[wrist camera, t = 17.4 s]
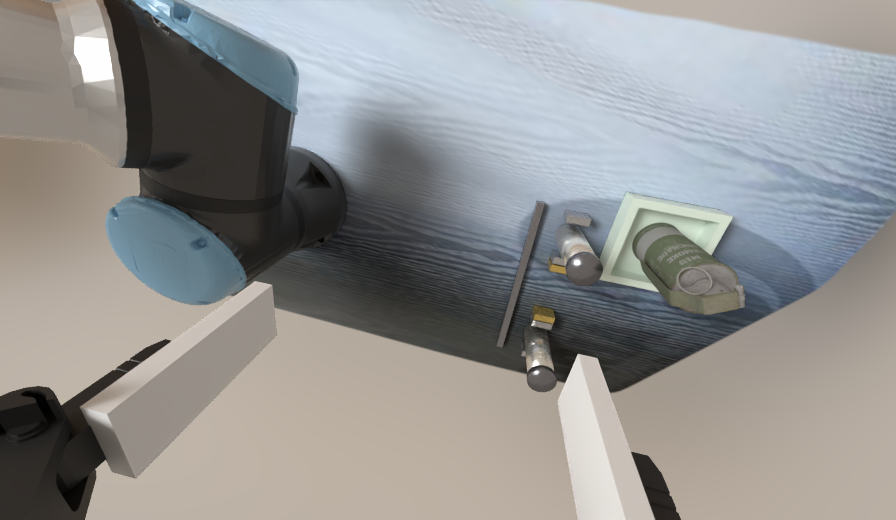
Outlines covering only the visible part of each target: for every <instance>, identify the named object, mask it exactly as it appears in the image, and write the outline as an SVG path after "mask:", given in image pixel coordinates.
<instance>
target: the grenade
mask: <svg viewBox="0 0 896 520" xmlns="http://www.w3.org/2000/svg"><path fill="white" fill-rule="evenodd" d="M632 250H633V253H634V255H635V257H636V258H637V259H639V260H640V263H641V267H642V270H643V272H644V273H645V275H646V276H647V277H648V279H649V280H650V281H651V282H652V284H653V285H654V286H655V287H656V289H657V290H658V291H659V292H660V293H661V295H662V296H663V297H664V298H665V299H666V301H667V302H668V303H669V304H670V305H672V306H677V307H679V308H681V309H682V310H684V311H687V312H691V313H702V314H704V315H710V314H715V313H720V312H725V311H731V310H736V309H739V308H743V307H744V306H745V294H744V286H742V285H739V281H738V276H737V274H736V273H735V271H734V270H733V269H732V268H730V267H729V266H727V265H725V264H723V263H721V262H719V261H718V260H717V259H715V258H714V257H713V256H711V255H710V254H709V253H707V252H706V251H705V250H703V249H702V248H701V247H699V246H698V245H697V244H695V243H694V242H693V241H691V240H690V239H689V238H687V237H686V236H685V235H683V234H682V233H681V232H679V230H678V229H677V228H676V227H675V226H673V225H671V224H668V223H662V222H660V223H653V224H650V225H648V226H646V227H644V228H643V229H641V230H640V231H639V232H638V233H637V234H636V236H635V238H634V240H633V243H632Z"/></svg>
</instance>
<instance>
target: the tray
mask: <svg viewBox="0 0 896 520" xmlns="http://www.w3.org/2000/svg"><path fill="white" fill-rule="evenodd" d="M732 218H733V216H731V215H729V214H727V213H725V212H723V211H721V210H719V209H714V208H708V207H703V206H698V205H692V204H687V203H682V202H676V201H671V200H666V199H661V198H655V197H650V196H645V195H639V194H634V193H629V192H626V193H625V196H624V198H623V201H622V203H621V206H620V208H619V211H618V213H617V216H616V218H615V221H614V223H613V226H612V228H611V231H610V233H609V235H608V238H607V240H606V243H605V245H604V248H603V250H602V253H601V255H600V258H599V260H600V262H601V263H602V266H603V273H602V276H601V277H600V280H603V281H608V282H613V283H618V284H623V285H627V286H632V287H637V288H642V289H647V290H652V291H656V292H659V291H658V290H657V289H656V287H655V286H654V285H653V284H652V282H651V281H650V280H649V279H648V277H647V276H646V275H645V273H644V272H643V270H642V267H641V263H640V260H639V259H637V258H636V257H635V255H634V253H633V250H632V243H633V240H634V238H635V236H636V234H637V233H638V232H639V231H640V230H641V229H643V228H644V227H646V226H648V225H650V224H653V223H660V222H662V223H668V224H671V225H673V226H675V227H676V228H677V229H678V230H679V232H681V233H682V234H683V235H685V236H686V237H687V238H689V239H690V240H691V241H693V242H694V243H695V244H697V245H698V246H699V247H701V248H702V249H703V250H705V251H706V252H707V253H709V254H710V255H712V253H713V251H714V250H715V248H716V246H717V244H718V243H719V241H720V239H721V237H722V235H723V234H724V232H725V230H726V228H727V227H728V225H729V223H730V221H731V220H732Z"/></svg>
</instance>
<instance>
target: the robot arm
mask: <svg viewBox="0 0 896 520" xmlns="http://www.w3.org/2000/svg"><path fill="white" fill-rule="evenodd" d="M298 81H299V74H298V70H297V67H296V65H295V63H294V62H293V60H292V59H291V58H290V57H289V56H288V55H287V54H286V53H285V52H283V51H282V50H280V49H278V48H277V47H275V46H273V45H271V44H269V43H267V42H266V41H264V40H262V39H260V38H258V37H256V36H254V35H252V34H250V33H248V32H246V31H245V30H243V29H241V28H239V27H237V26H235V25H233V24H231V23H229V22H227V21H225V20H223V19H221V18H219V17H217V16H215V15H213V14H211V13H209V12H207V11H205V10H203V9H201V8H199V7H197V6H194V5H192V4H190V3H188V2H186V1H184V0H62V1H60V2H58V3H55V2H46V1H42V0H0V137H2V138H14V139H26V140H38V141H50V142H62V143H75V144H78V145H80V146H83V147H85V148H87V149H89V150H90V151H92V152H93V153H94V154H96V155H97V156H99V157H100V158H101V159H103V160H104V161H106V162H107V163H108V164H110V165H111V166H113V167H119V168H138V169H139V176H140V195H139V196H130V197H126V198H124V199H122V200H121V202H120V203H118V204H117V205H116V206H115V207H112V208H111V209H110V210H109V212H108V214H107V216H106V224H105V226H106V232H107V236H108V239H109V242H110V244H111V246H112V248H113V250H114V251H115V253H116V254H117V256H118V257H119V259H120V260H121V262H122V263H123V264H124V265H125V266H126V267H127V268H128V270H129V271H131V272H132V273H133V274H134V275H135V276H136V277H137V278H138V279H139V280H140V281H141V282H143V283H144V284H145V285H147V286H148V287H150V288H151V289H153V290H154V291H156V292H158V293H160V294H161V295H163V296H165V297H167V298H170V299H172V300H175V301H178V302H181V303H185V304H190V305H208V304H211V303H215V302H218V301H220V300H222V299H223V298H225V297H227V296H229V295H230V294H232V293H234V292H238V291H240V290H241V289H243V288H244V287H245V285H246V284H247V283H249V282H250V281H251V280H253V279H254V278H255V277H257V276H258V275H260V274H261V273H263V272H264V271H265V270H267V269H268V268H270V267H271V266H272V265H274V264H275V263H277V262H278V261H280V260H281V259H282V258H284V257H285V256H287V255H288V254H289V253H291V252H293V251H299V250H306V249H311V248H315V247H318V246H320V245H322V244H324V243H326V242H327V241H328V240H330V239H331V238H332V237H334V236H335V235H336V234H337V233H338V232H339V230H340V229H341V227H342V225H343V223H344V220H345V216H346V197H345V193H344V190H343V187H342V185H341V182H340V180H339V179H338V177H337V175H336V174H335V172H334V171H333V170H332V168H331V167H330V166H329V165H328V164H327V163H326V162H325V161H324V160H323V159H321V158H320V157H319V156H317V155H316V154H314V153H312V152H310V151H308V150H306V149H303V148H299V147H294V146H291V141H292V134H293V128H294V121H295V115H297V114H298V109H297V107H296V102H297V92H298ZM276 335H277V331H276V322H275V311H274V300H273V290H272V285H270V284H265V283H261V282H256V281H255V282H254V283H252V284H251V285H250V286H248V287H247V288H245V289H244V290H243V291H241V292H240V293H238V294H237V295H236V296H234V297H233V298H231V299H230V300H229V301H227V302H226V303H224V304H223V305H222V306H220V307H219V308H217V309H216V310H215V311H213V312H212V313H210V314H209V315H208V316H206V317H205V318H203V319H202V320H201V321H199V322H198V323H196V324H195V325H194V326H192V327H191V328H190V329H188V330H187V331H185V332H184V333H183V334H181V335H180V336H178V337H177V338H175V339H174V340H173V341H170V340H166V339H165V340H163V341H160V342H158V343H156V344H153V345H151V346H149V347H146V348H145V349H143V350H142V351H140V352H139V353H138V354H136V355H135V356H133V357H132V358H130V360H129V361H126V362H124V363H123V364H121V365H120V366H118V367H117V368H116V370H115V371H114V370H113V371H111V372H110V373H108V374H107V375H105V376H104V377H102V378H101V379H99V380H98V381H96V382H95V383H93V384H92V385H91V386H89V387H88V388H86V389H85V390H83V391H82V392H80V393H79V394H77V395H76V396H75V397H73V398H72V399H70V400H69V401H67V402H66V403H64V404H63V405H60V403H59V401H58V399H57V397H56V395H55V393H54V392H53V391H52V390H51V389H50V388H47V387H40V386H37V387H28V388H23V389H20V390H16V391H12V392H9V393H7V394H5V395H2V396H0V520H85V517H86V513H87V509H88V506H89V502H90V499H91V495H92V492H93V488H94V484H95V481H96V470H95V469H96V468H97V467H98V466H99V465H100V464H101V463H102V462H104V461H105V460H106V461H107V463H108V465H109V467H110V469H111V471H112V472H114V473H118V474H121V475H125V476H128V477H132V478H137V477H138V476H139V475H140V474H141V473H142V472H143V471H144V470H145V469H146V468H147V467H148V466H149V465H150V464H151V463H152V462H153V461H154V460H155V458H157V457H158V456H159V455H160V454H161V453H162V452H163V450H164V449H165V448H166V447H167V446H168V445H169V444H170V443H171V442H172V441H173V440H174V439H175V438H176V437H177V436H178V435H179V434H180V433H181V432H182V431H183V430H184V429H185V428H186V427H187V426H188V425H189V424H190V423H191V422H192V421H193V420H194V419H195V418H196V417H197V416H198V415H199V414H200V413H201V412H202V411H203V410H204V409H205V408H206V407H207V406H208V405H209V404H210V403H211V401H213V399H215V398H216V396H218V394H219V393H220V392H221V391H222V390H223V389H224V388H225V387H226V386H227V385H228V384H229V383H230V382H231V381H232V380H233V379H234V378H235V377H236V376H237V375H238V374H239V373H240V372H241V371H242V370H243V369H244V368H245V367H246V366H247V365H248V364H249V363H250V362H251V361H252V360H253V359H254V358H255V357H256V356H257V355H258V354H259V353H260V351H262V350H263V349H264V348H265V347H266V346H267V345H268V344H269V343H270V342H271V341H272V339H274V338H275V336H276ZM558 407H559V413H560V418H561V424H562V430H563V436H564V441H565V448H566V453H567V459H568V464H569V470H570V476H571V482H572V488H573V493H574V499H575V505H576V511H577V517H578V520H681V518H680V516H679V514H678V513H677V512H676V507H675V504H674V502H673V499H672V497H671V496H670V495H669V493H670V492H669V490H668V488H667V485H666V483H665V480H664V478H663V476H662V474H661V472H660V471H659V470H658V468H657V467H656V466H655V464H654V463H653V462H652V460H651V459H650V458H649V456H647V455H642V454H638V453H634V452H631V451H630V449H629V446H628V443H627V440H626V437H625V434H624V432H623V429H622V426H621V423H620V420H619V418H618V415H617V412H616V409H615V406H614V404H613V401H612V398H611V396H610V392H609V390H608V387H607V384H606V381H605V379H604V376H603V373H602V370H601V367H600V365H599V362H598V359H597V358H594V357H590V356H585V355H581V354H578V355H577V357H576V360H575V362H574V364H573V367H572V369H571V371H570V374H569V376H568V378H567V381H566V383H565V385H564V387H563V390H562V392H561V395H560V397H559V399H558Z"/></svg>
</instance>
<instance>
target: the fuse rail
mask: <svg viewBox="0 0 896 520" xmlns="http://www.w3.org/2000/svg"><path fill="white" fill-rule="evenodd" d="M544 205H545V203H544V202H542V201H537V202H536V205H535V209H534V212H533V216H532V219H531V223H530V226H529V230H528V233H527V237H526V240H525V244H524V248H523V251H522V255H521V258H520V262H519V265H518V269H517V272H516V276H515V279H514V283H513V286H512V290H511V293H510V297H509V300H508V304H507V308H506V311H505V315H504V318H503V322H502V325H501V329H500V332H499V336H498V339H497V346H498V347H503V344H504V340H505V337H506V334H507V330H508V327H509V324H510V320H511V317H512V313H513V310H514V307H515V303H516V300H517V297H518V293H519V290H520V286H521V283H522V280H523V276H524V273H525V270H526V266H527V263H528V259H529V256H530V253H531V249H532V246H533V242H534V239H535V236H536V232H537V229H538V226H539V222H540V219H541V215H542V212H543V209H544ZM563 218H564V220H565V221H566V222H567V224H563V225H561V226H560V227H559V228H558V229H557V230H556V232H555V240H556V243H557V246H558V249H559V251H556V250H552V251H551V254H550V257H549V260H548V266H549V270H550V271H553V272H558V273H563V274H567V276H568V279H569V280H570V281H571V282H572V283H574V284H575V285H578V286H588V285H591V284H594V283H595V282H597V281H598V280H599V279H600V277H601V276H602V273H603V266H602V263H601V262H600V260H599V258H598V257H597V256H596V255H595V253H594V252H593V250H592V248H591V247H590V245H589V243H588V241H587V240H586V238H585V236H584V235H583V233H582V231H581V230H580V228H579V227H578V226H577V225H582V226H587V227H589V225H590V223H591V220H592V219H591V218H590V217H589V215H588V214H586V213H581V212H576V211H571V210H566V209H565V212H564V215H563ZM571 223H572V224H571ZM575 224H577V225H575ZM530 318H531V323H529V324H527V325H526V326H525V328H524V337H525V341H522V343H521V356H525V357H526V362H527V382H528V385H529V387H530V388H531V389H533V390H535V391H538V392H547V391H550V390H552V389H553V388H554V387H555V386H556V383H557V380H556V375H555V372H554V368H553V362H552V357H551V351H550V346H549V340H548V335H547V329H549V330H551V328H552V326H553V323H554V320H555V316H554V311H553V309H550V308H546V307H541V306H536V305H534V306H533V309H532V312H531V316H530Z"/></svg>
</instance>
